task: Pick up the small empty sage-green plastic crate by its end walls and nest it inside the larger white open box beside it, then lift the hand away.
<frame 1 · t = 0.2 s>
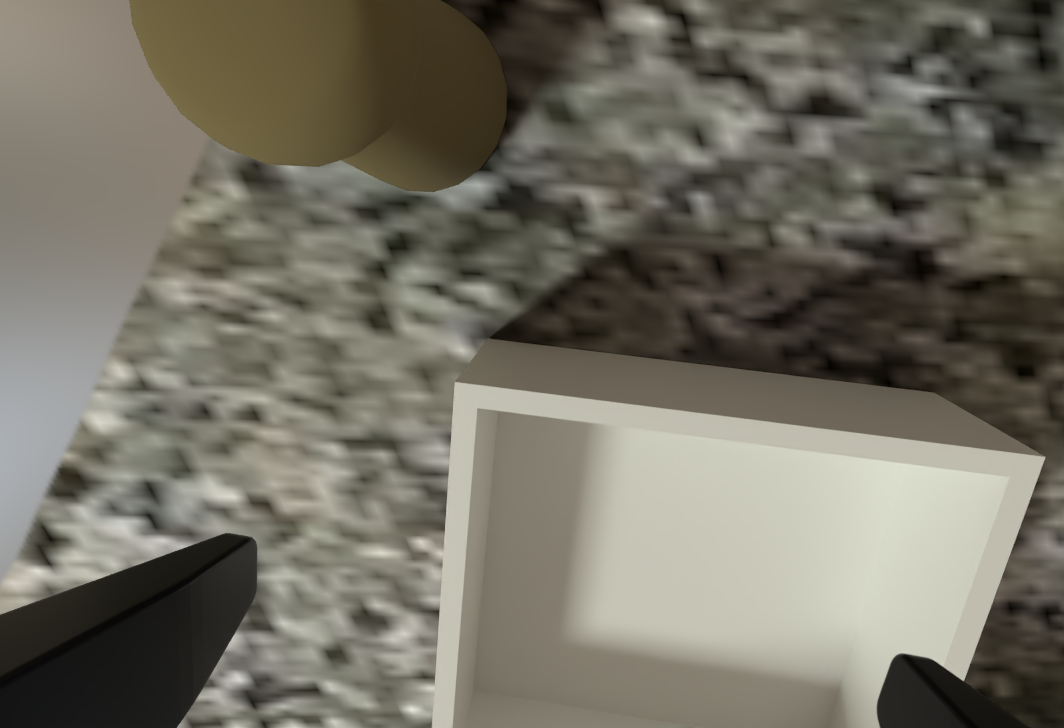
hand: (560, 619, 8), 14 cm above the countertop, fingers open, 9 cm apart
white open box: (669, 556, 24), on the countertop
olive pepper shaker: (421, 101, 21), on the countertop
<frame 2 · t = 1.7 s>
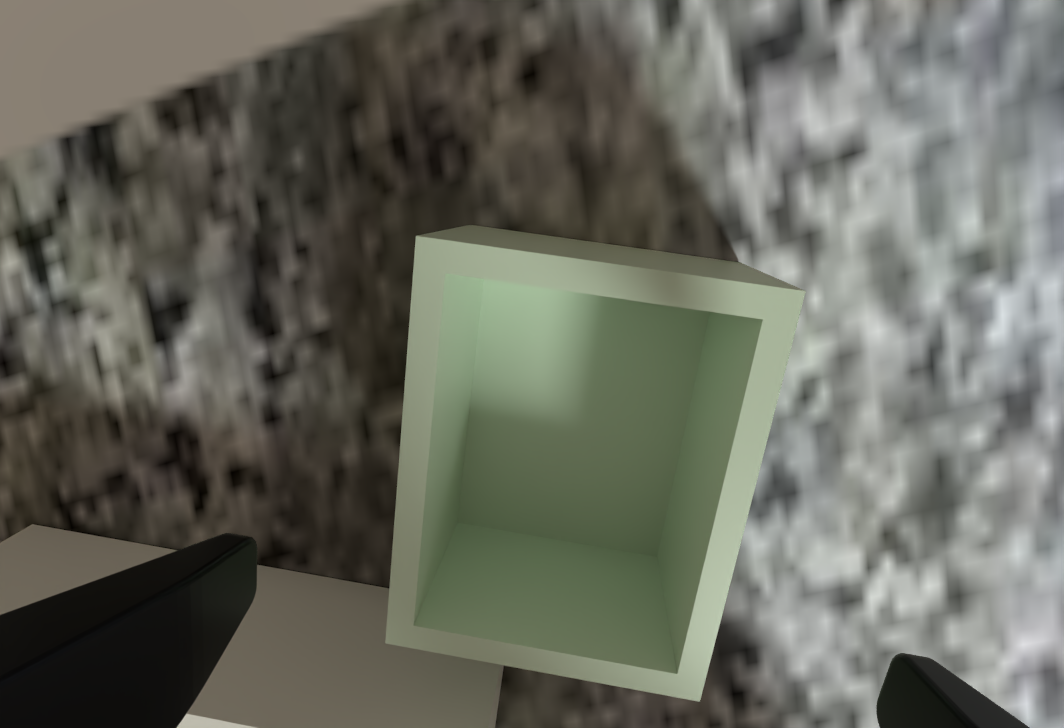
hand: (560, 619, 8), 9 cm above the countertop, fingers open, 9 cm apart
sage crate: (577, 405, 17), on the countertop
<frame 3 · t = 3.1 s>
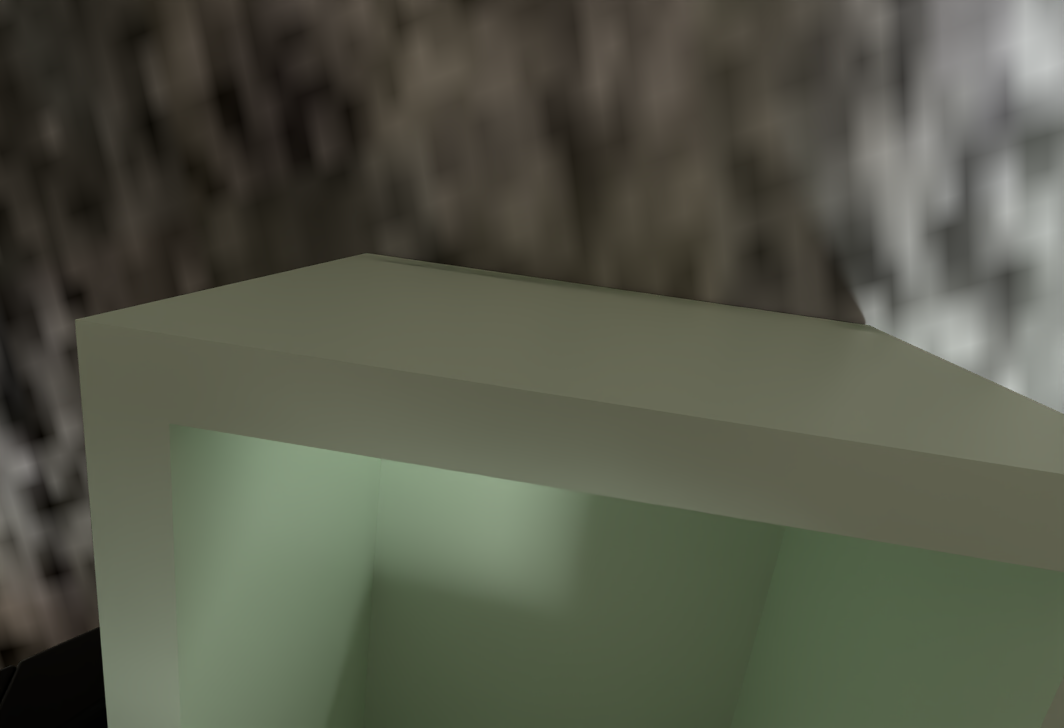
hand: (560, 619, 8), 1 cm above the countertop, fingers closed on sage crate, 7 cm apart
sage crate: (564, 567, 10), on the countertop, touching gripper
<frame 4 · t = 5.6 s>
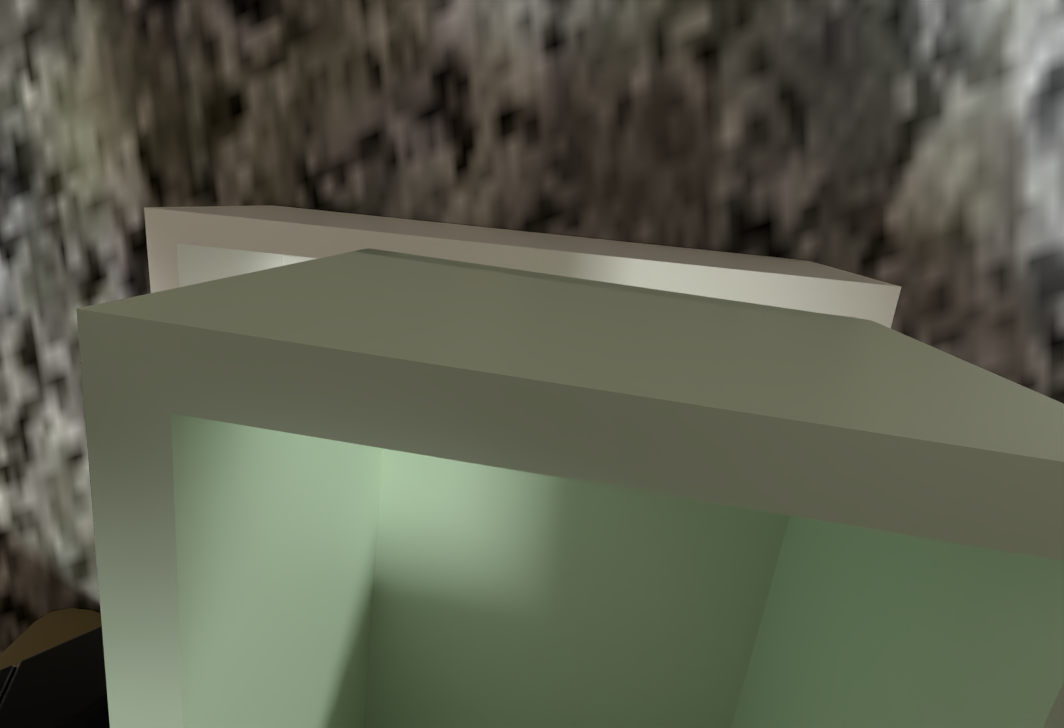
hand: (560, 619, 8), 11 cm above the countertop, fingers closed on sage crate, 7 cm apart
white open box: (509, 476, 20), on the countertop
olive pepper shaker: (97, 668, 24), on the countertop
sage crate: (566, 563, 10), point 10 cm above the countertop, touching gripper
when the fingers open (4 cm above the countertop, at t = 8.2 s): sage crate drops 2 cm, resting on white open box.
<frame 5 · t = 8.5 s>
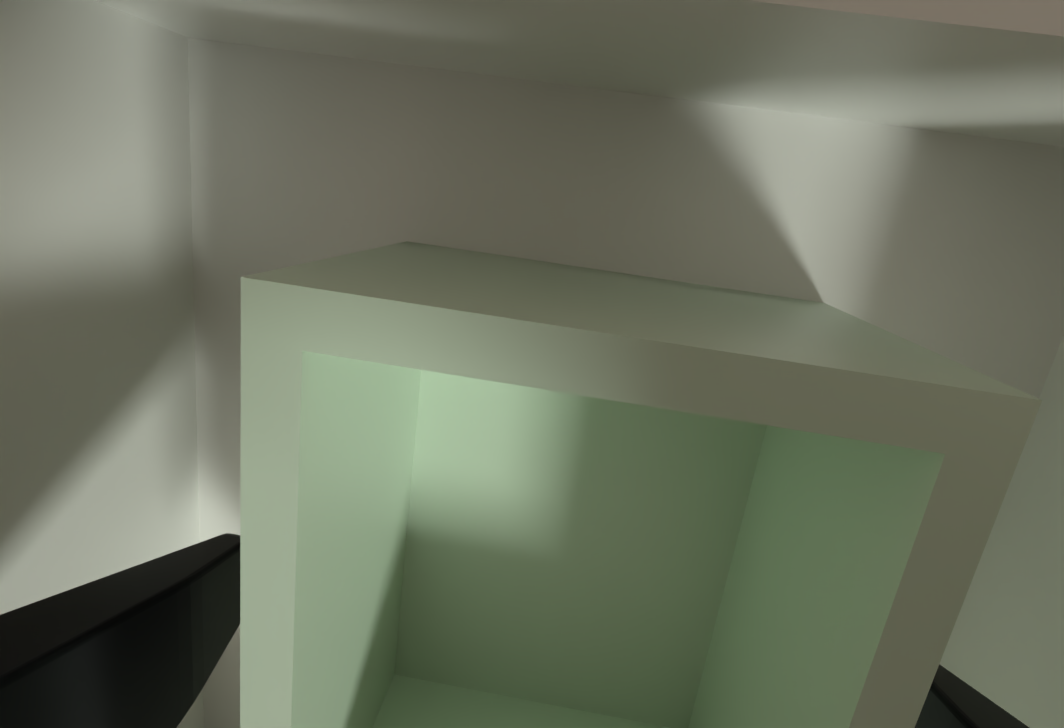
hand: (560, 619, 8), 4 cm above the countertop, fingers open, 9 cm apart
white open box: (569, 492, 12), on the countertop
sage crate: (570, 510, 11), point 1 cm above the countertop, touching white open box
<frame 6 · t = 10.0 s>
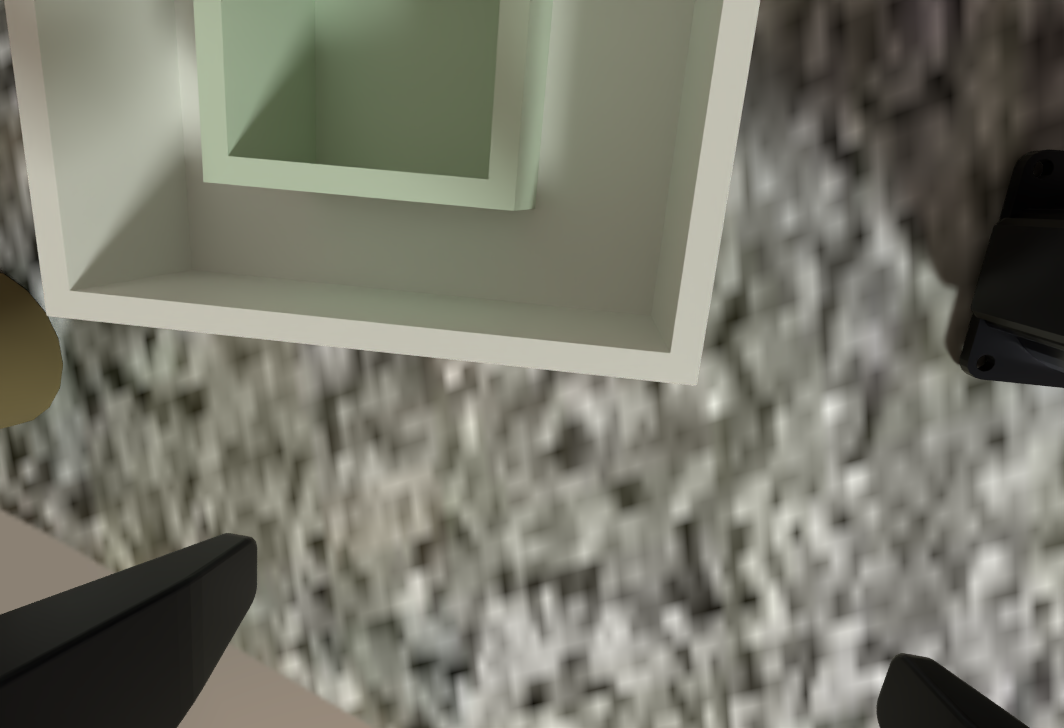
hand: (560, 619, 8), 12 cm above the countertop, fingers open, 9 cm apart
white open box: (431, 40, 18), on the countertop
sage crate: (425, 30, 17), point 1 cm above the countertop, touching white open box
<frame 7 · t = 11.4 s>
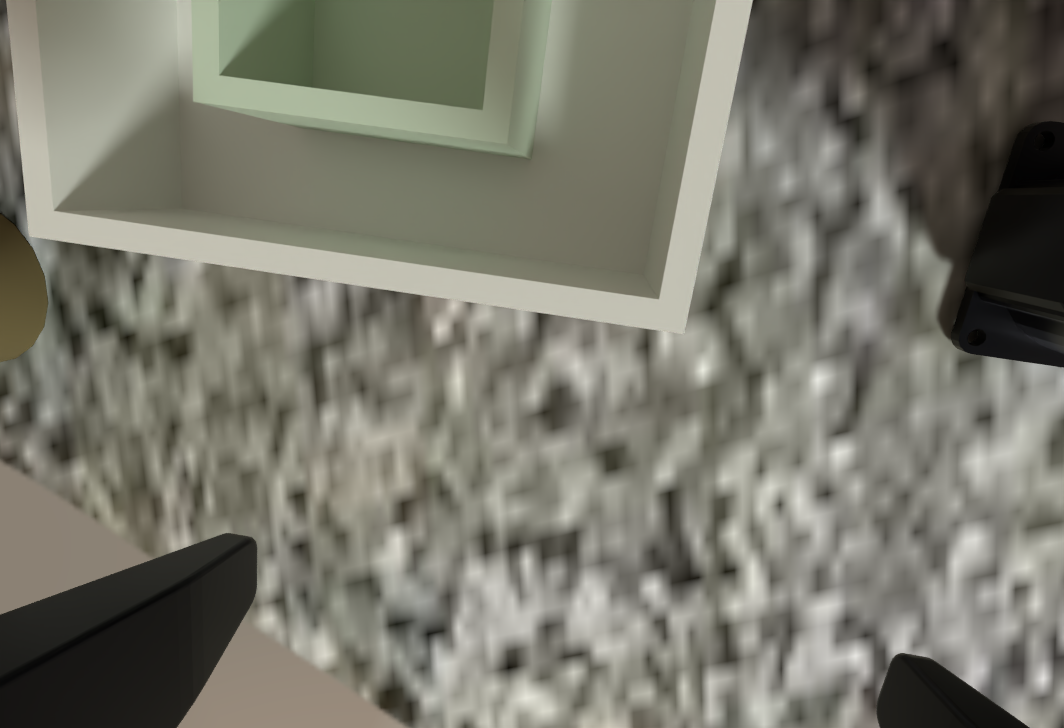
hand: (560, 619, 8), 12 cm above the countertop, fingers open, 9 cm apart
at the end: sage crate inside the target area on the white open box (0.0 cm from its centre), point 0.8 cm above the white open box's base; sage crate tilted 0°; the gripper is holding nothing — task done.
